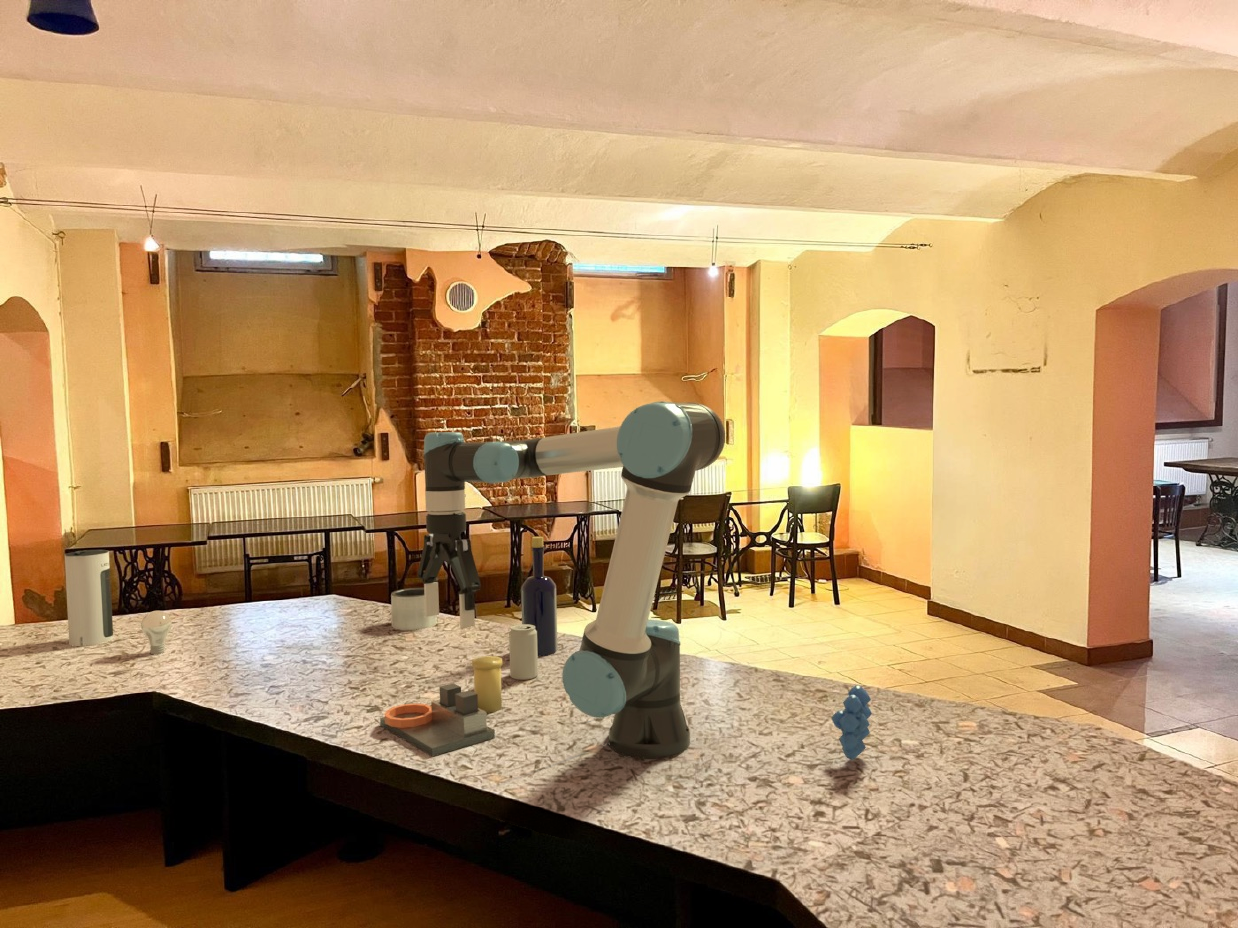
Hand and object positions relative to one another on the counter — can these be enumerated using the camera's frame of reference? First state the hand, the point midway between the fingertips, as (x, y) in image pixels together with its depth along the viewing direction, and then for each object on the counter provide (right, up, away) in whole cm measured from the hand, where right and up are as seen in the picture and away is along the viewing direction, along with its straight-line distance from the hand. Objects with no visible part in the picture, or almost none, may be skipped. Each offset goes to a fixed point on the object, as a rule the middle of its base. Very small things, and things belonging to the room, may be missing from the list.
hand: (449, 621), depth 166 cm
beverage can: (+11, -19, +31) cm, 38 cm away
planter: (-25, -17, +78) cm, 84 cm away
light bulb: (-86, -19, +54) cm, 104 cm away
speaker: (-111, -19, +66) cm, 130 cm away
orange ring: (-8, -19, +1) cm, 21 cm away
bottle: (+13, -18, +50) cm, 55 cm away
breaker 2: (+4, -17, -5) cm, 18 cm away
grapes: (+74, -21, -16) cm, 78 cm away
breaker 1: (0, -17, 0) cm, 17 cm away
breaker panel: (-2, -21, -2) cm, 21 cm away
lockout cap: (+6, -20, +11) cm, 24 cm away
